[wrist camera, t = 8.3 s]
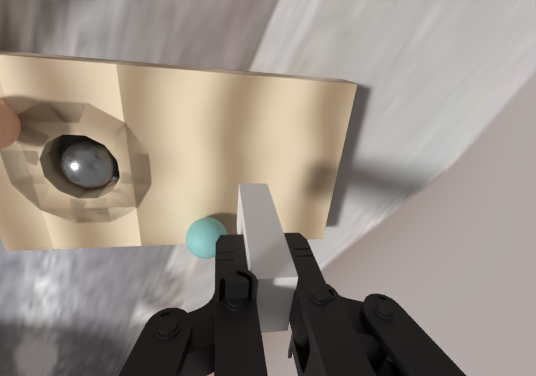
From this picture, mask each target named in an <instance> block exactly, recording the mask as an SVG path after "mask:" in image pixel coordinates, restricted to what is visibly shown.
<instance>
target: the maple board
mask: <svg viewBox="0 0 536 376" xmlns="http://www.w3.org/2000/svg"><path fill="white" fill-rule="evenodd" d="M356 88H357V84H356V83H352V82H349V81H346V80H342V79H331V78H319V77H307V76H295V75H283V74H272V73H260V72H248V71H236V70H224V69H212V68H201V67H189V66H177V65H165V64H153V63H142V62H130V61H118V60H106V59H94V58H82V57H71V56H59V55H47V54H35V53H23V52H11V51H0V100H2V101H4V102H5V103H7V104H8V105H9V106H10V107H11V108H12V109H13V110H14V111H15V112H16V113H17V115H18V117H19V119H20V122H21V133H20V135H19V137H18V139H17V140H16V141H15V142H14V143H13V144H12V145H11V146H9V147H7V148H5V149H2V150H0V236H1V239H2V241H3V243H4V246H5V248H6V251H17V250H43V249H69V248H95V247H122V246H148V245H174V244H186V233H187V230H188V229H189V227H190V226H191V224H192V223H193V222H195V221H196V220H198V219H201V218H205V217H209V218H214V219H216V220H218V221H220V222H221V223H222V224H223V226H224V227H225V229H226V232H227V235H237V210H238V192H239V183H261V184H268V187H269V190H270V193H271V196H272V199H273V202H274V205H275V208H276V211H277V214H278V217H279V220H280V223H281V226H282V229H283V232H284V233H300V234H301V235H303V236H304V237H305V238H306V239H323V235H324V231H325V226H326V222H327V217H328V213H329V208H330V204H331V200H332V195H333V191H334V186H335V182H336V177H337V173H338V168H339V164H340V159H341V155H342V151H343V146H344V142H345V137H346V133H347V128H348V124H349V119H350V115H351V111H352V106H353V102H354V97H355V93H356ZM63 135H85V136H87V137H89V138H91V139H93V140H95V141H97V142H99V143H101V144H103V145H105V146H106V147H107V149H108V150H109V151H110V152H111V154H112V155H113V156H114V157H115V158H116V160H117V162H118V168H119V174H120V177H119V178H117V179H115V180H113V181H111V182H107V183H106V184H104V185H102V186H98V187H93V188H88V187H82V186H79V185H76V184H74V183H73V182H71V181H70V180H69V179H68V178H67V177H66V176H65V174H64V172H63V170H62V167H61V155H60V151H59V147H58V145H59V143H60V140H61V138H62V136H63Z"/></svg>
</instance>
